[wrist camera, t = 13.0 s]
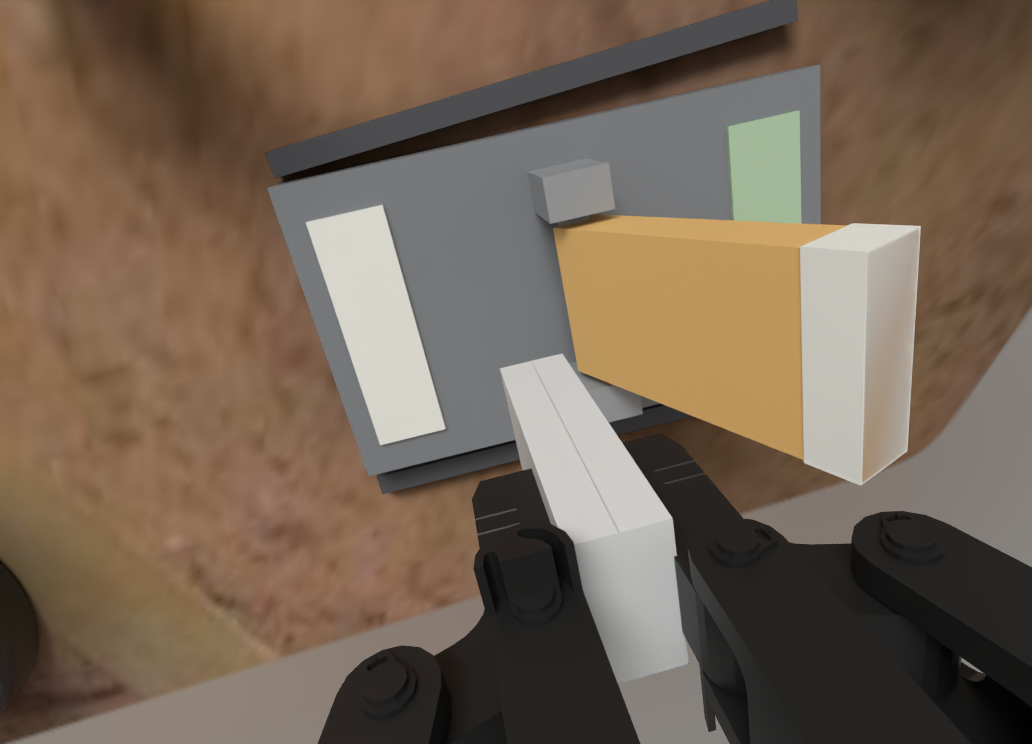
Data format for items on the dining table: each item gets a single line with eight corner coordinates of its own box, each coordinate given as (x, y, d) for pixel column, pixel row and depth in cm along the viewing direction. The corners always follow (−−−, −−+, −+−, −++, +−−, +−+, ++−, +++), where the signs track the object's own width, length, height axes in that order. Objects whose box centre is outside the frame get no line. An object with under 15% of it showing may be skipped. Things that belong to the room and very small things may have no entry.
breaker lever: (569, 372, 26) (860, 490, 16) (542, 222, 23) (866, 245, 13) (607, 354, 27) (906, 455, 16) (584, 208, 24) (920, 219, 14)
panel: (372, 450, 30) (361, 517, 25) (281, 182, 25) (243, 196, 20) (792, 345, 31) (865, 389, 26) (785, 70, 26) (875, 55, 21)
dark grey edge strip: (384, 483, 31) (382, 494, 30) (378, 466, 31) (376, 477, 30) (793, 380, 32) (803, 388, 31) (792, 363, 32) (803, 370, 31)
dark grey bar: (280, 176, 25) (275, 178, 24) (270, 151, 25) (264, 152, 24) (784, 24, 26) (797, 20, 25) (782, -3, 25) (795, -8, 24)
